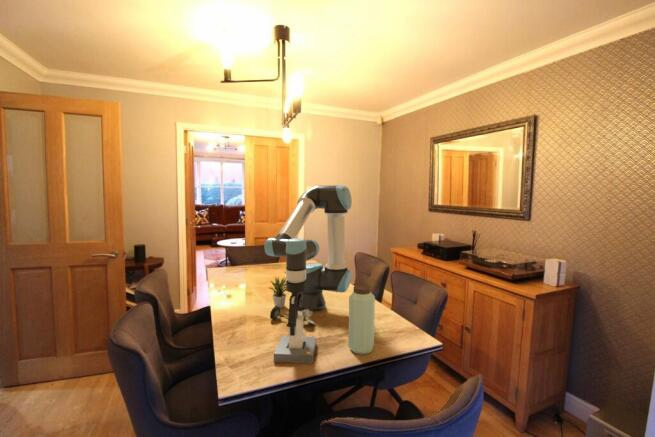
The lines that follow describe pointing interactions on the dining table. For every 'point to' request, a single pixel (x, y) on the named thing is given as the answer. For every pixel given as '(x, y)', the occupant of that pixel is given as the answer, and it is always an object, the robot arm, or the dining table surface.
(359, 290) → the water bottle
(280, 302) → the house plant
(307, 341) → the socket
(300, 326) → the cream long rectangular block
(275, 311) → the artificial flower
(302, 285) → the robot arm
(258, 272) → the dining table surface
